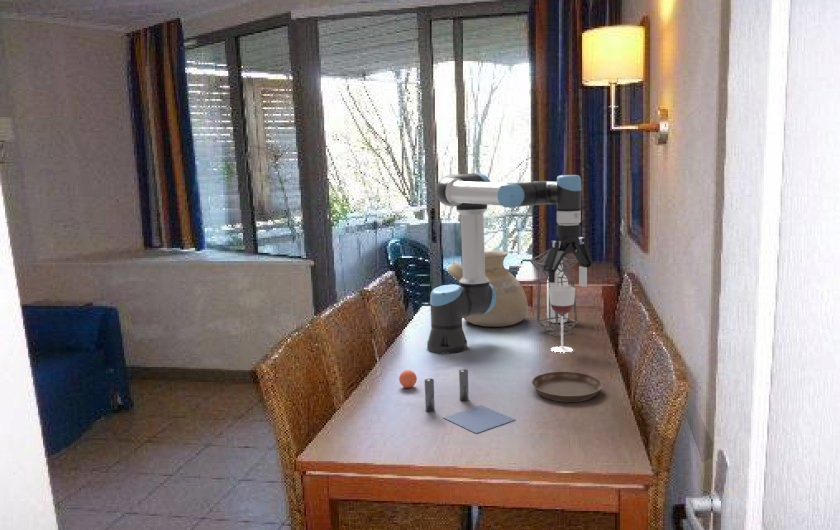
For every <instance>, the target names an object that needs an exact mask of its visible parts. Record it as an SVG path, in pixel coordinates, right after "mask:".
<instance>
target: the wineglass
mask: <svg viewBox="0 0 840 530" xmlns="http://www.w3.org/2000/svg"><path fill="white" fill-rule="evenodd" d="M549 295H550V304H551V307H552V309H553V310H554V311H555V312H556V313H558V314H559V315H561V331H560V335H561V336H560V346H559V347H558V346H553V347H550V349H551V350H550V351H551V352H553V351H554V352H553V353H556V352H560V353H559V354H566V353H565V352H570V353H573V352H574V351H573V349H574V348H573V347H571V346H564V335H563V334H564V331H563V329H564V326H563V324H564V323H563V316H564V315H565V314H567V313H568V314H569V312H571V311H572V310H573V309H574V306H573V305H574V300H576V288H575V286H574V287H572V286H570V285H568V286H558V293H552V292H550V288H549ZM572 348H573V349H572ZM572 351H573V352H572ZM561 352H563V353H561Z"/></svg>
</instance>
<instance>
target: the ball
mask: <svg viewBox="0 0 840 530" xmlns="http://www.w3.org/2000/svg"><path fill="white" fill-rule="evenodd" d="M417 377H418V376H417V374H416V373H415V371H414V370H410V369H406V370H403V371H402V372H401V373H400V376H399V379H398V380H399V384H400V385H401V386H402V387H404V388H406V389H409V388H412V387H414V386H415V385H416V383H417V380H418V379H417Z"/></svg>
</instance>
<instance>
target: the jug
mask: <svg viewBox="0 0 840 530" xmlns="http://www.w3.org/2000/svg"><path fill="white" fill-rule="evenodd" d="M484 253H485V276H486V277H487V278H488V279H489V284H491V285H492V286H493V287H494V290H495V292H496V302H495V305H494V307H493V309H491V311H489V312H487V313H484V314H482V315H475V316H470V317H466V318H463V319H464V321H466V322H468V323H471V324H473V325H477V326H481V327H490V328H492V327H493V328H499V327H500V328H501V327H507V326H513V325H515V324H518V323H520V322H522V321H523V320H525V318H526V316H527V315H528V310H529V304H528V300H527V295H526V293H525V290H524V288H523V286H522V284H521V283H520V281H519V280H518V279H517V278H516V277H515V276H514V274H513V273H512V272H510V271H508V269H506V268H505V264H504V260H505V259H506V257H507V256H508V252H506V251H503V250H501V251H499V250H491V251H490V250H487V251H486V250H484ZM447 272H448V273H449V275H451V276H452V277H453V278H454V279H455V280H456V281H457V282H459V280H460V279H461V278H462V277H463V268H462V264H460V263H459V262H458V261H457V260H455V261H453V262H452V263H451V265H450V266H449V267H448V269H447Z"/></svg>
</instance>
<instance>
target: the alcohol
mask: <svg viewBox="0 0 840 530" xmlns="http://www.w3.org/2000/svg"><path fill="white" fill-rule="evenodd" d="M561 263H563V260H562V261H561ZM563 265H564V264H562V268H563V269H564V267H563ZM558 268H559V269H560V270H561V271H562V268H561V266H560V265H559V266H558ZM552 269H553V268H552ZM556 272H557V273H558V274H559V275H558V277H562V275H563V273H564V271H563V272H560V271H559V270H558V269H557V270H556ZM559 272H560V273H559ZM547 277H548V278H549V276H547ZM563 277H566V278H568V277H567V276H566V274H564V276H563ZM566 278H562V281H569V279H566ZM546 280H547V281H546V319H548V318H549V283H547V282H549V281H548V279H546ZM558 282H561V278H558ZM562 283H563V286H569V282H562ZM558 286H561V283H558ZM564 316H565V318H569V312H568V313H567V314H565V315H564ZM553 317H555V311H554V310H553V309H552V307H551V304H550V318H553ZM558 317H561V315H559V314H558ZM550 320H551V322H552V323H551V324H555V323H556V318H555V319H550ZM548 321H549V320H547V322H548ZM565 322H566V323H567V322H568V320H567V319H564V320H563V324H566V323H565ZM558 323H561V318H558Z"/></svg>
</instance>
